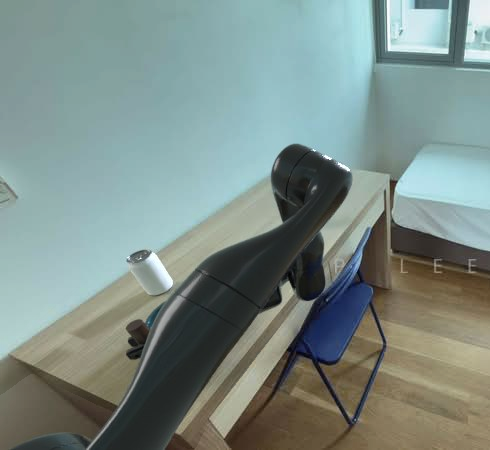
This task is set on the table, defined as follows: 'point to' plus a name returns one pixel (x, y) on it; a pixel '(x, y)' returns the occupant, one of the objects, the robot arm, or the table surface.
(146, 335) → the brown post with base
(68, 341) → the table surface
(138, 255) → the can
